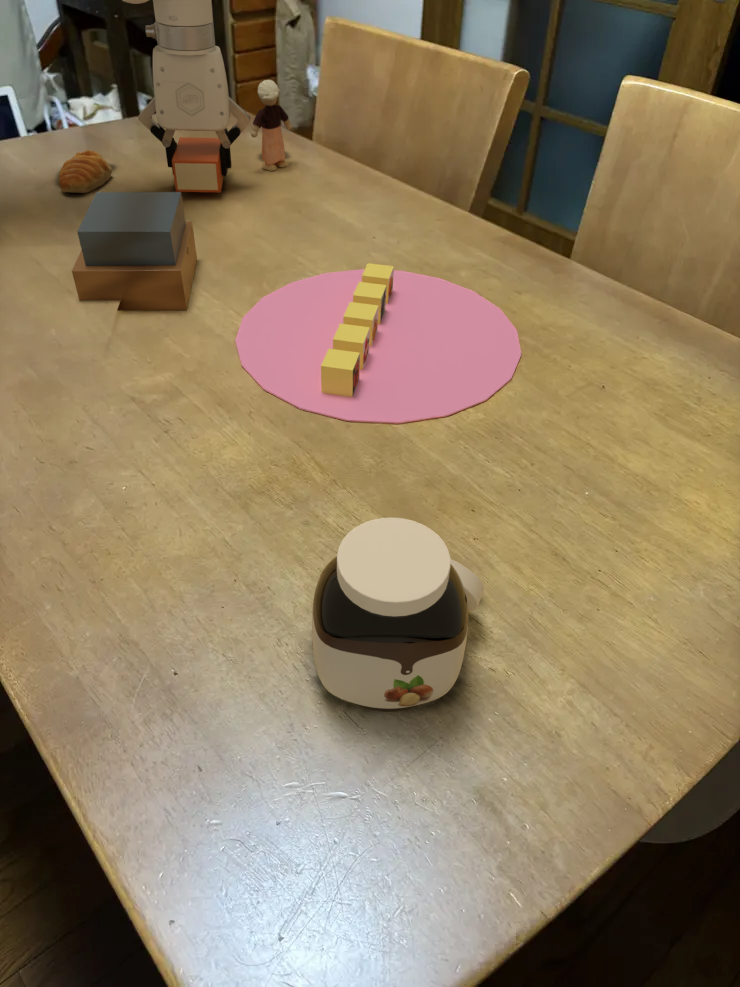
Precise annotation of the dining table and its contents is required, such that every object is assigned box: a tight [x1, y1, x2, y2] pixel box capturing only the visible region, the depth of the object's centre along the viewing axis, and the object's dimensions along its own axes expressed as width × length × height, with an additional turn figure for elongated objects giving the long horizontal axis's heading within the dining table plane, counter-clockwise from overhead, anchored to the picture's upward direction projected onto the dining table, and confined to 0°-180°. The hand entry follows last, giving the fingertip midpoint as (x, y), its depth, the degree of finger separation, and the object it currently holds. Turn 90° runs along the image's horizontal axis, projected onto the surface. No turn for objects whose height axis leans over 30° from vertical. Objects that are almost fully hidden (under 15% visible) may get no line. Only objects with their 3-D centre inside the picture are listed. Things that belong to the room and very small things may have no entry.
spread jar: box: [311, 517, 485, 714], centre depth 50 cm, size 12×11×12 cm
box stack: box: [71, 191, 198, 311], centre depth 89 cm, size 12×13×9 cm
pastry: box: [58, 149, 113, 194], centre depth 113 cm, size 9×7×4 cm
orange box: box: [172, 136, 225, 193], centre depth 112 cm, size 6×10×4 cm, turn 4°
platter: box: [234, 262, 522, 425], centre depth 84 cm, size 32×32×3 cm
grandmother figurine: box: [250, 79, 293, 172], centre depth 117 cm, size 8×4×13 cm, turn 145°
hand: (200, 171), depth 113 cm, fingers closed on orange box, 6 cm apart
